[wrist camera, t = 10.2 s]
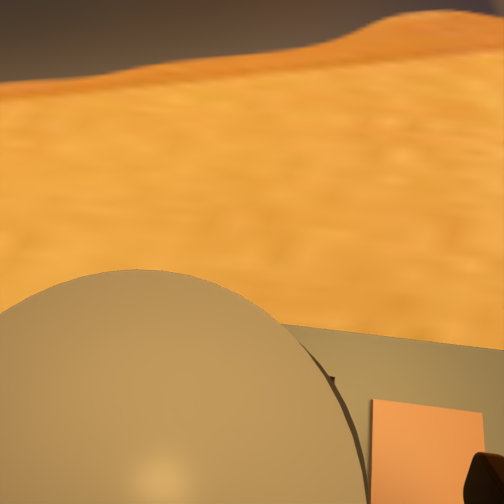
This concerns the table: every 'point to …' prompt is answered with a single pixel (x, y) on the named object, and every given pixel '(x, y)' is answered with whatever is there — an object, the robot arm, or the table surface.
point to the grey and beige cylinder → (166, 400)
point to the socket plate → (414, 409)
